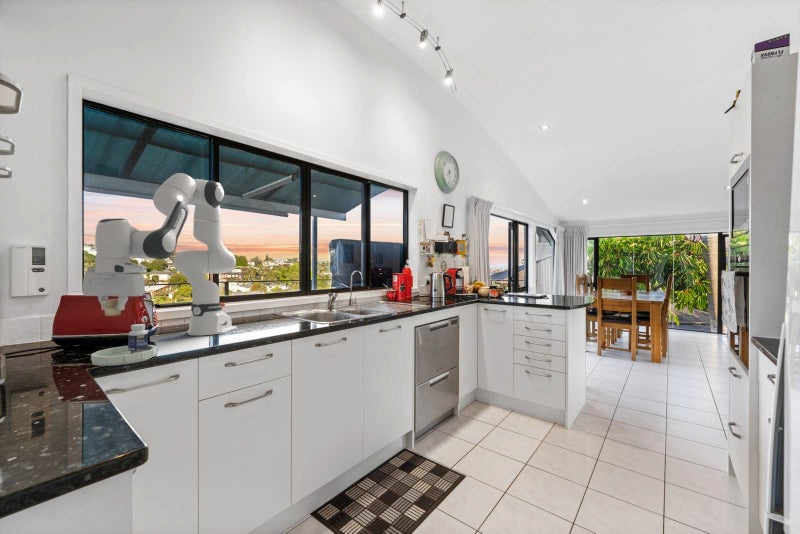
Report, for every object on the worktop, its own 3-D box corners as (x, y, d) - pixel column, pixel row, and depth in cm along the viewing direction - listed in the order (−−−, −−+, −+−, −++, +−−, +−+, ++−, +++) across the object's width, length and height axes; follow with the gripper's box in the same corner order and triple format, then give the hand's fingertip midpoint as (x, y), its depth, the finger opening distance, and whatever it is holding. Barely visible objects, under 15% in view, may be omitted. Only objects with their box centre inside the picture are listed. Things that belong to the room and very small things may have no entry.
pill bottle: (137, 354, 118) (137, 326, 118) (124, 354, 119) (124, 325, 119) (151, 351, 123) (151, 323, 123) (138, 350, 124) (138, 323, 124)
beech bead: (113, 314, 114) (113, 299, 114) (124, 314, 114) (123, 299, 114) (101, 315, 110) (101, 300, 110) (112, 315, 110) (112, 300, 110)
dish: (127, 351, 126) (127, 344, 126) (168, 353, 124) (168, 345, 124) (77, 364, 110) (77, 355, 110) (123, 367, 107) (123, 358, 107)
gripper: (75, 267, 111) (75, 310, 111) (130, 267, 108) (130, 311, 107) (96, 267, 117) (96, 308, 117) (148, 267, 114) (148, 309, 114)
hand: (113, 309), depth 112 cm, fingers closed on beech bead, 4 cm apart
